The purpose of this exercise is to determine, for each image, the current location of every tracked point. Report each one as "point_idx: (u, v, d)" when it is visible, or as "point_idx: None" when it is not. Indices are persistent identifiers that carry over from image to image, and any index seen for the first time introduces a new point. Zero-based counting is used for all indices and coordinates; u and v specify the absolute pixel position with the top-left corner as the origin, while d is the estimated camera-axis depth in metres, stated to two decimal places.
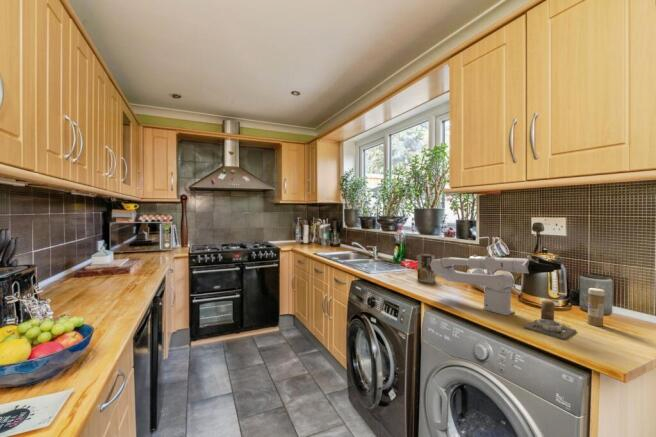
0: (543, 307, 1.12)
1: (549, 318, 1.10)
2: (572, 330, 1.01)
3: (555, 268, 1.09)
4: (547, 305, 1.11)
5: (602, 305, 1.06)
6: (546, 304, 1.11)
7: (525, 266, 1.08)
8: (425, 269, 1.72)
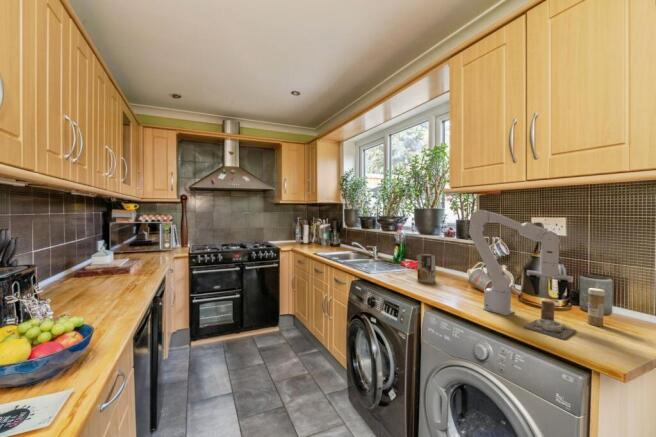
0: (543, 307, 1.12)
1: (549, 318, 1.10)
2: (572, 330, 1.01)
3: (536, 290, 1.15)
4: (547, 305, 1.11)
5: (602, 305, 1.06)
6: (546, 304, 1.11)
7: (572, 280, 1.06)
8: (425, 269, 1.72)
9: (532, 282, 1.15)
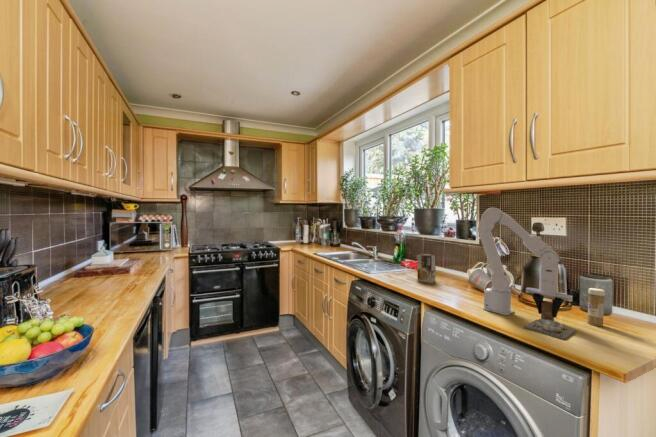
0: (543, 307, 1.12)
1: (549, 318, 1.10)
2: (572, 330, 1.01)
3: (540, 309, 1.14)
4: (547, 305, 1.11)
5: (602, 305, 1.06)
6: (546, 304, 1.11)
7: None
8: (425, 269, 1.72)
9: (536, 301, 1.14)
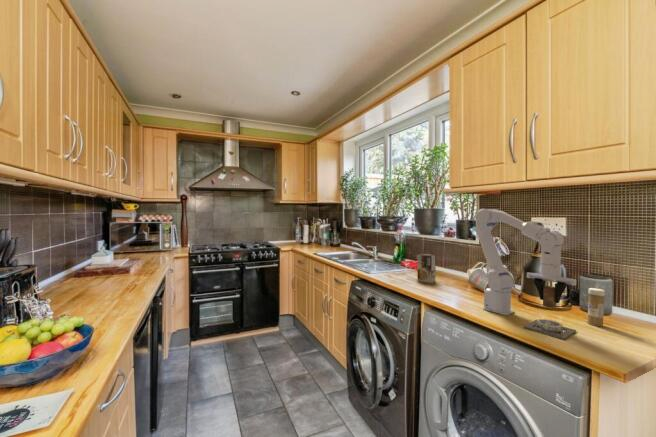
0: (545, 292, 1.05)
1: (551, 304, 1.04)
2: (572, 330, 1.01)
3: (542, 295, 1.07)
4: (549, 290, 1.04)
5: (602, 305, 1.06)
6: (548, 289, 1.04)
7: (575, 284, 1.00)
8: (425, 269, 1.72)
9: (537, 286, 1.07)
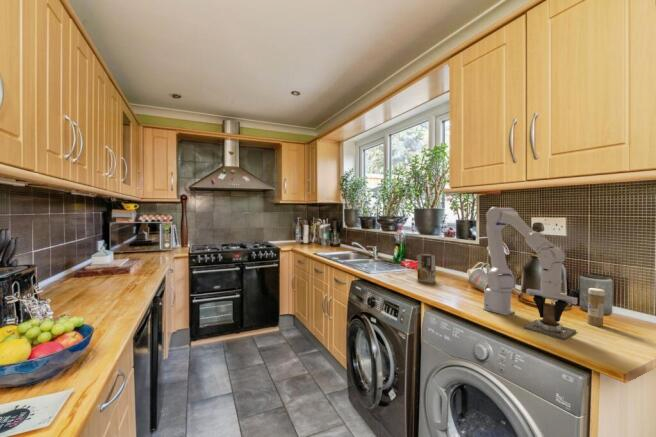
0: (545, 310, 1.02)
1: (552, 322, 1.01)
2: (572, 330, 1.01)
3: (542, 313, 1.04)
4: (549, 308, 1.01)
5: (602, 305, 1.06)
6: (548, 307, 1.01)
7: (576, 302, 0.97)
8: (425, 269, 1.72)
9: (537, 303, 1.04)
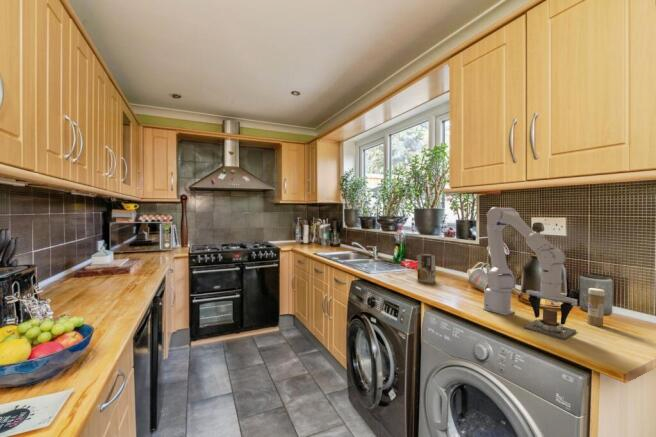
0: (545, 316, 1.02)
1: None
2: (572, 330, 1.01)
3: (537, 313, 1.05)
4: (549, 314, 1.01)
5: (602, 305, 1.06)
6: (548, 312, 1.01)
7: (576, 304, 0.97)
8: (425, 269, 1.72)
9: (532, 304, 1.05)
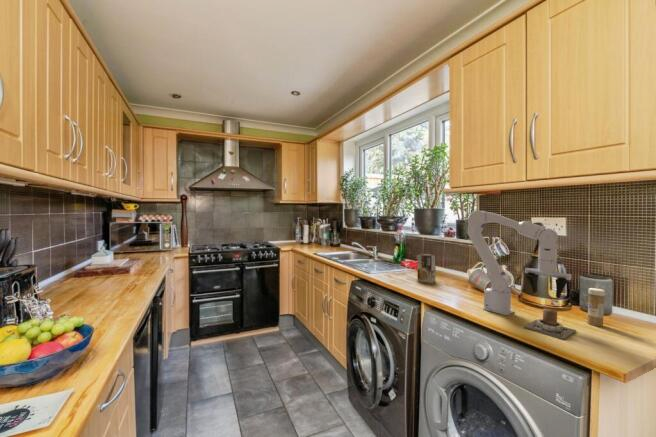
0: (545, 316, 1.02)
1: None
2: (572, 330, 1.01)
3: (534, 288, 1.14)
4: (549, 314, 1.01)
5: (602, 305, 1.06)
6: (548, 312, 1.01)
7: (570, 278, 1.06)
8: (425, 269, 1.72)
9: (530, 280, 1.14)
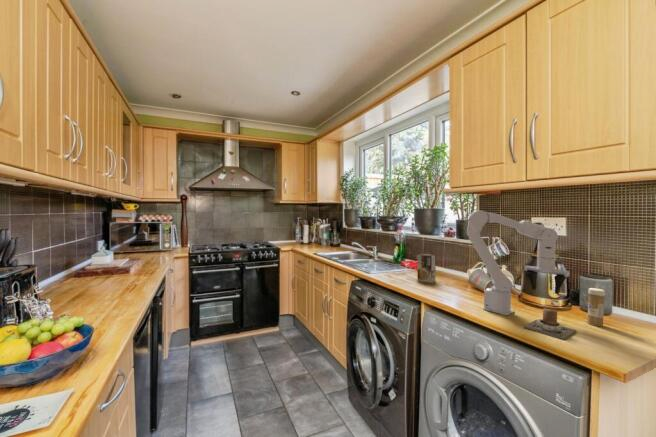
0: (545, 316, 1.02)
1: None
2: (572, 330, 1.01)
3: (534, 285, 1.18)
4: (549, 314, 1.01)
5: (602, 305, 1.06)
6: (548, 312, 1.01)
7: (568, 275, 1.10)
8: (425, 269, 1.72)
9: (530, 277, 1.18)
